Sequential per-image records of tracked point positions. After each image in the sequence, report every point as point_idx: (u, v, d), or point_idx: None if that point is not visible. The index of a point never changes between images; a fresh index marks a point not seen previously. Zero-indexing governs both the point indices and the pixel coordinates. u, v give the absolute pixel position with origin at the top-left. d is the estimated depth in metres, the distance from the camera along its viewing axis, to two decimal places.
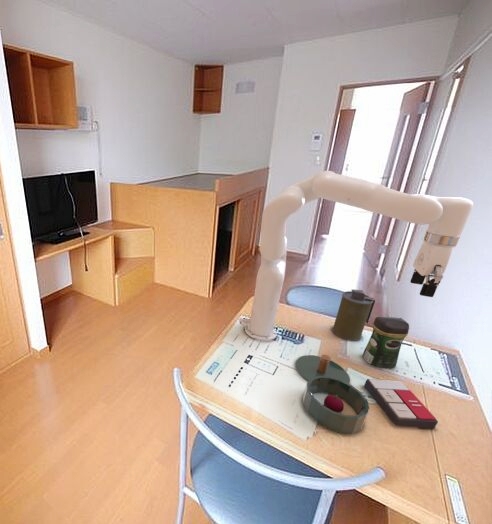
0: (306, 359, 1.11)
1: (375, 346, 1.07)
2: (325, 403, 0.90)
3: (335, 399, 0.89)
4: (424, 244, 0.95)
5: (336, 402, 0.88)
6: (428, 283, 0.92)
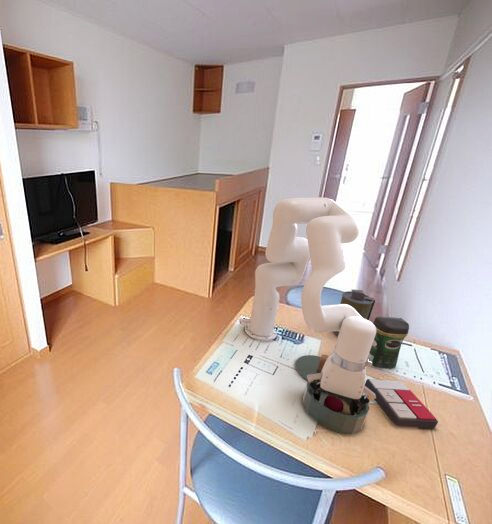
0: (306, 359, 1.11)
1: (375, 346, 1.07)
2: (325, 403, 0.90)
3: (335, 399, 0.89)
4: None
5: (336, 402, 0.88)
6: None
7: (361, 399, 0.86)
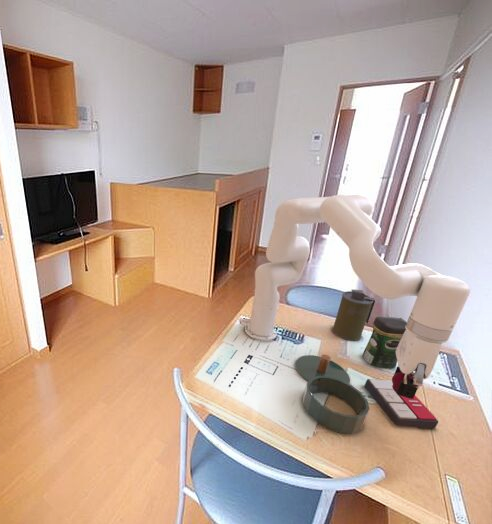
0: (306, 359, 1.11)
1: (375, 346, 1.07)
2: None
3: (411, 376, 0.75)
4: None
5: None
6: (406, 383, 0.72)
7: None
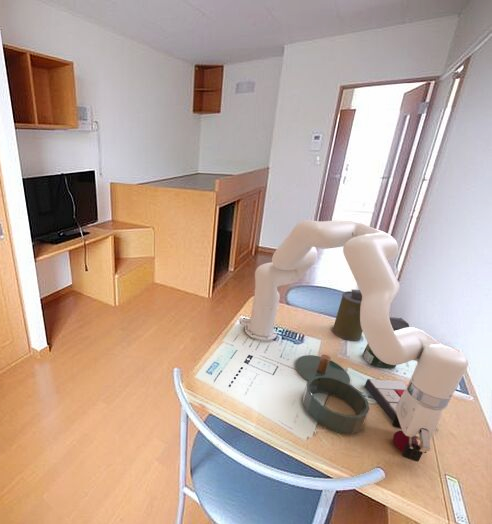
0: (306, 359, 1.11)
1: None
2: None
3: None
4: None
5: None
6: (412, 448, 0.74)
7: None
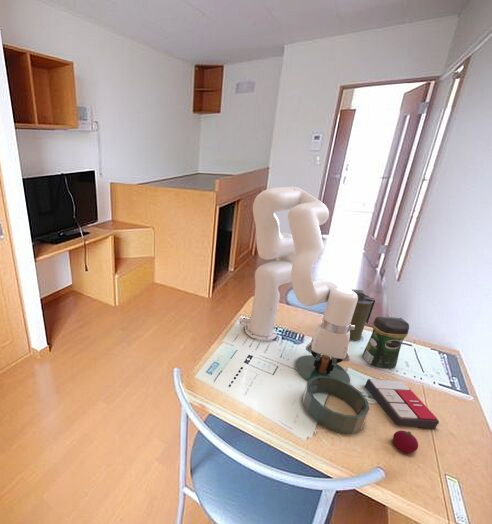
0: (306, 359, 1.11)
1: (375, 346, 1.07)
2: (412, 449, 0.77)
3: (411, 436, 0.78)
4: None
5: (414, 437, 0.79)
6: None
7: None
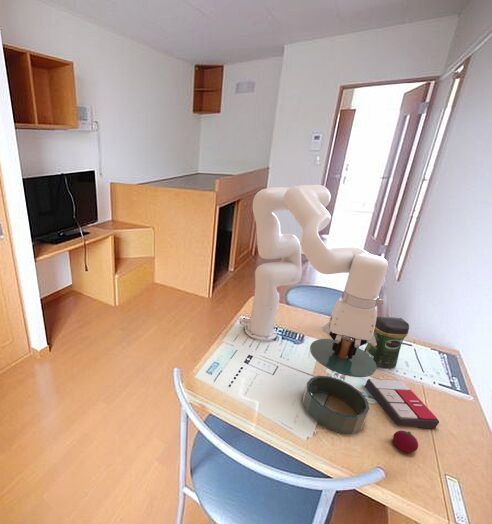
0: (322, 343, 0.95)
1: (375, 346, 1.07)
2: (412, 449, 0.77)
3: (411, 436, 0.78)
4: None
5: (414, 437, 0.79)
6: None
7: None
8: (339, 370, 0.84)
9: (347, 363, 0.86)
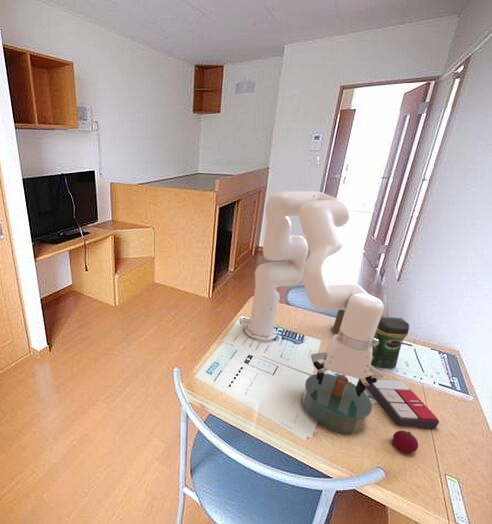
0: None
1: (375, 346, 1.07)
2: (412, 449, 0.77)
3: (411, 436, 0.78)
4: None
5: (414, 437, 0.79)
6: None
7: (368, 379, 0.83)
8: (334, 411, 0.83)
9: (342, 403, 0.85)
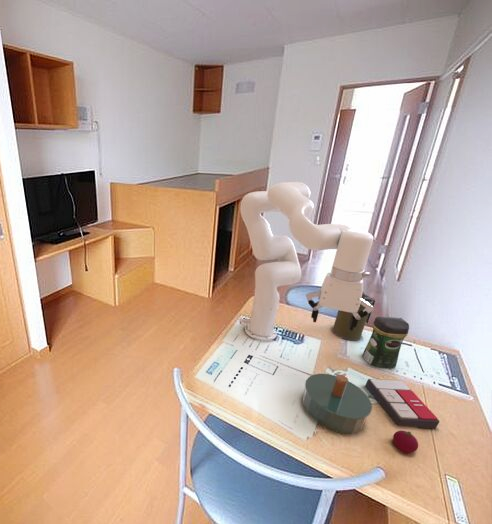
0: (318, 379, 0.94)
1: (375, 346, 1.07)
2: (412, 449, 0.77)
3: (411, 436, 0.78)
4: None
5: (414, 437, 0.79)
6: None
7: (360, 313, 0.89)
8: (334, 411, 0.83)
9: (342, 403, 0.85)
